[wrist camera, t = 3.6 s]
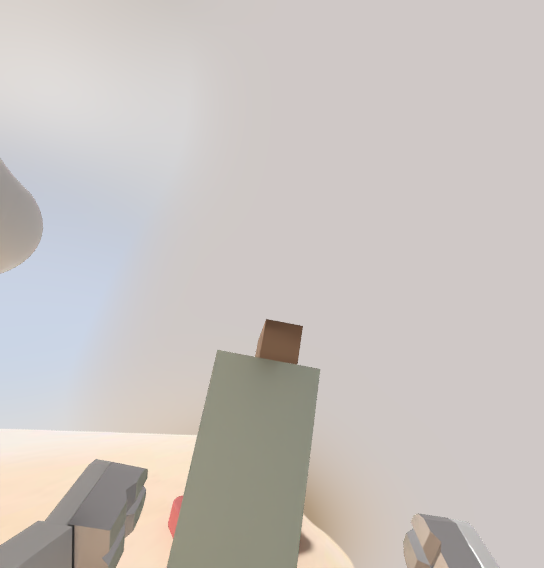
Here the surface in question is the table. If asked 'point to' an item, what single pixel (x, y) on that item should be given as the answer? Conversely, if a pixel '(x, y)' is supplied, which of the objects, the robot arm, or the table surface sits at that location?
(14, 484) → the table surface
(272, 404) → the pedestal
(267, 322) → the rod
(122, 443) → the table surface
